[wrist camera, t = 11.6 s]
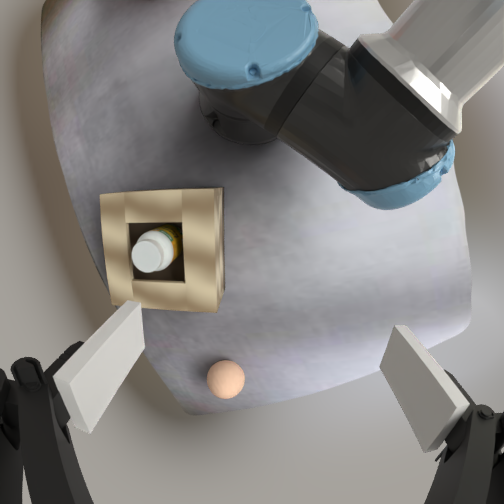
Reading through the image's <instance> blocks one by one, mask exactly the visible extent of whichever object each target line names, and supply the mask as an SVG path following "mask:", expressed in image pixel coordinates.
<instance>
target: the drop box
mask: <svg viewBox="0 0 504 504" xmlns="http://www.w3.org/2000/svg"><path fill="white" fill-rule="evenodd" d="M100 211H101V225H102V237H103V247H104V256H105V264H106V271H107V278H108V285H109V291H110V297H111V302H112V305H119V306H122V305H123V304H124V303H125V302H126V301H127V300H129V301H135V302H140V303H141V308H151V309H163V310H177V311H193V312H213V313H217V311H218V308H219V305H220V302H221V299H222V296H223V293H224V290H225V262H224V187H215V188H176V189H154V190H137V191H125V192H116V193H108V194H100ZM164 224H173V225H175V226H177V227H179V228H180V229H181V230H182V232H183V252H182V253H181V254H180V255H179V256H178V257H177V258H176V259H175V260H174V261H173V262H172V263H171V264H170V265H169V266H167V267H166V268H165V269H163V270H160V271H153V272H149V273H147V272H143V271H141V270H139V269H138V268H137V267H136V266H135V265H134V263H133V260H132V250H133V247H134V246H135V245H136V243H137V241H138V239H139V238H140V236H141V235H143V234H144V233H146V232H148V231H150V230H152V229H154V228H157V227H159V226H161V225H164Z"/></svg>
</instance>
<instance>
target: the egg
mask: <svg viewBox="0 0 504 504" xmlns="http://www.w3.org/2000/svg"><path fill="white" fill-rule="evenodd" d="M244 381H245V377H244V372H243V370H242V369H241V367H240V366H239V365H238V364H236V363H235V362H233V361H228V360H223V361H219V362H217V363H215V364H214V365H212V366H211V368H210V369H209V371H208V374H207V384H208V387H209V389H210V390H211V392H212V393H213V394H214V395H215V396H217V397H219V398H222V399H229V398H232V397H234V396H236V395H237V394H238V393H239V392H240V391H241V390H242V388H243V385H244Z"/></svg>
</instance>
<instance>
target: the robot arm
mask: <svg viewBox="0 0 504 504" xmlns="http://www.w3.org/2000/svg"><path fill="white" fill-rule="evenodd" d="M174 45H175V52H176V55H177V57H178V59H179V63H180V66H181V67H182V70H183V72H185V74H186V76H187V77H189V78H190V79H191V80H192V81H193V83H194V84H195V85H196V87H197V88H198V89H199V91H200V93H199V102H200V108H201V111H202V114H203V116H204V118H205V120H206V121H207V123H208V124H209V125H210V126H211V127H212V128H213V129H214V130H215V131H216V132H217V133H218V134H219V135H221V136H222V137H224V138H226V139H228V140H230V141H232V142H235V143H239V144H246V145H256V144H263V143H267V142H270V141H272V140H275V139H277V138H278V139H279V140H281V141H282V142H284V143H285V144H287V145H288V146H290V147H291V148H293V149H294V150H296V151H297V152H298V153H300V154H301V155H303V156H304V157H305V158H307V159H308V160H310V161H311V162H312V163H314V164H315V165H316V166H318V167H319V168H320V169H322V170H323V171H324V172H326V173H327V174H328V175H330V176H331V177H332V178H334V179H335V180H336V181H337V182H338V184H339V186H340V187H341V188H342V189H344V190H345V191H348V192H349V193H352V194H354V195H355V196H357V197H358V198H359V199H361V200H362V201H363V202H364V203H366V204H367V205H369V206H371V207H374V208H377V209H381V210H393V209H398V208H402V207H405V206H407V205H410V204H412V203H414V202H416V201H418V200H419V199H421V198H423V197H424V196H425V195H427V194H428V193H429V192H431V191H432V190H433V189H434V188H435V187H436V186H437V185H438V184H439V183H440V182H441V176H442V175H443V174H446V173H448V171H449V170H450V168H451V166H452V164H453V161H454V155H455V147H454V144H453V140H452V139H453V138H454V137H455V136H456V135H457V134H459V133H460V132H461V130H462V107H463V104H464V103H465V102H466V101H467V100H469V99H470V98H471V97H472V96H473V95H474V94H475V93H476V92H477V91H478V90H479V89H480V88H482V87H483V86H484V85H485V84H486V83H487V82H488V81H489V80H490V79H491V78H492V77H493V76H494V75H495V74H496V73H497V72H498V71H499V70H500V69H501V68H502V67H504V0H414V1H413V2H412V3H411V4H410V6H409V7H408V8H407V9H406V10H405V11H404V12H403V14H402V15H401V16H400V17H399V18H398V19H397V21H396V22H395V23H394V24H393V25H392V27H391V28H390V29H389V30H388V31H386V32H385V33H381V34H363V35H360V36H359V37H358V38H357V40H356V41H355V42H354V44H353V45H352V46H351V48H348V47H346V46H345V45H343V44H342V43H340V42H339V41H337V40H336V39H334V38H333V37H331V36H329V35H328V34H326V33H325V32H323V31H321V30H320V29H318V21H317V19H316V17H315V15H314V14H313V13H312V11H311V6H310V5H309V4H308V3H307V2H306V0H197V1H196V2H195V3H194V4H192V5H191V6H190V7H189V8H188V10H187V11H186V12H185V13H184V15H183V16H182V17H181V19H180V21H179V23H178V25H177V28H176V31H175V36H174ZM144 348H145V344H144V335H143V324H142V312H141V303H140V302H135V301H129V300H127V301H126V302H125V303H124V304H123V305H122V306H121V307H120V308H119V309H118V310H117V311H116V312H115V313H114V314H113V315H112V316H111V317H110V318H109V319H108V320H107V321H106V322H105V323H104V324H103V325H102V326H101V327H100V328H99V329H98V330H97V331H96V332H95V333H94V334H93V335H92V336H91V337H90V338H89V339H88V340H87V341H86V342H85V343H84V342H81V341H79V342H77V343H75V344H73V345H71V346H70V347H69V348H68V349H67V350H66V351H64V354H61V355H60V356H59V359H57V360H56V361H54V362H53V364H52V365H51V366H50V367H49V368H48V369H47V370H46V371H45V372H44V373H43V370H42V367H41V365H40V362H39V361H38V360H37V359H35V358H32V357H24V358H20V359H19V360H17V361H15V362H14V363H13V364H12V366H11V372H12V374H13V377H14V379H15V381H14V380H9V379H7V376H6V374H5V372H4V371H3V370H2V369H0V504H22V481H23V466H24V470H25V476H26V480H27V485H28V490H29V494H30V498H31V502H32V504H94V503H93V501H92V498H91V496H90V494H89V491H88V489H87V486H86V483H85V481H84V478H83V475H82V472H81V470H80V467H79V464H78V460H77V457H76V454H75V451H74V448H73V444H72V440H71V436H70V433H69V429H68V426H67V422H68V421H69V419H70V418H71V420H72V422H73V424H74V426H75V427H76V428H78V429H80V430H82V431H85V432H87V433H91V432H92V430H93V429H94V427H95V425H96V424H97V422H98V420H99V419H100V417H101V416H102V414H103V412H104V411H105V409H106V407H107V406H108V404H109V403H110V401H111V399H112V398H113V396H114V394H115V393H116V391H117V389H118V388H119V387H120V385H121V383H122V382H123V380H124V379H125V377H126V376H127V374H128V373H129V371H130V369H131V368H132V366H133V365H134V363H135V362H136V360H137V359H138V357H139V356H140V354H141V352H142V351H143V349H144ZM379 367H380V369H381V371H382V372H383V374H384V376H385V378H386V380H387V381H388V383H389V385H390V387H391V389H392V391H393V392H394V394H395V396H396V398H397V400H398V402H399V404H400V406H401V408H402V410H403V412H404V414H405V415H406V417H407V419H408V421H409V423H410V425H411V427H412V429H413V431H414V433H415V435H416V437H417V439H418V441H419V444H420V445H421V448H422V450H423V452H424V453H426V452H429V451H432V450H436V449H438V447H439V446H440V445H441V444H442V443H443V441H444V440H445V441H446V443H447V446H446V447H445V448H444V449H443V451H442V452H441V453H440V454H439V455H438V457H437V458H436V459H435V461H437V460H438V459H439V458H440V457H441V460H440V462H439V466H438V469H437V472H436V475H435V478H434V481H433V483H432V486H431V488H430V491H429V493H428V496H427V499H426V501H425V503H424V504H504V452H503V453H501V449H502V448H503V447H504V412H503V413H494V411H493V410H492V409H491V408H490V407H488V406H486V405H476V404H475V403H474V402H473V400H472V399H471V398H470V396H469V395H468V394H467V393H466V391H465V390H464V389H463V388H462V386H461V385H460V384H459V383H458V382H457V380H456V379H455V378H454V376H453V375H452V374H450V373H449V372H447V371H446V370H443V369H442V368H441V366H440V365H439V364H438V363H437V361H436V360H435V359H434V358H433V357H432V355H431V354H430V353H429V352H428V351H427V349H426V348H425V347H424V346H423V345H422V344H421V342H420V341H419V340H418V339H417V338H416V337H415V335H414V334H413V333H412V332H411V331H410V330H409V329H408V327H407V326H406V325H394V327H393V330H392V333H391V336H390V339H389V342H388V345H387V348H386V351H385V353H384V356H383V359H382V361H381V364H380V366H379Z"/></svg>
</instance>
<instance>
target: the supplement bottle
mask: <svg viewBox="0 0 504 504" xmlns="http://www.w3.org/2000/svg"><path fill="white" fill-rule="evenodd" d="M182 252H183V232H182V230H181V229H180V228H179V227H177V226H175V225H173V224H164V225H161V226H159V227H157V228H154V229H152V230H150V231H148V232H146V233H144V234H143V235H141V236H140V238H139V239H138V241H137V243H136V245H135V246H134V247H133V250H132V260H133V263H134V265H135V266H136V267H137V268H138V269H139V270H141V271H143V272H147V273H149V272H153V271H160V270H163V269H165V268H166V267H167V266H169V265H170V264H171V263H172V262H173V261H174V260H175V259H176V258H177V257H178V256H179V255H180V254H181V253H182Z"/></svg>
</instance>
